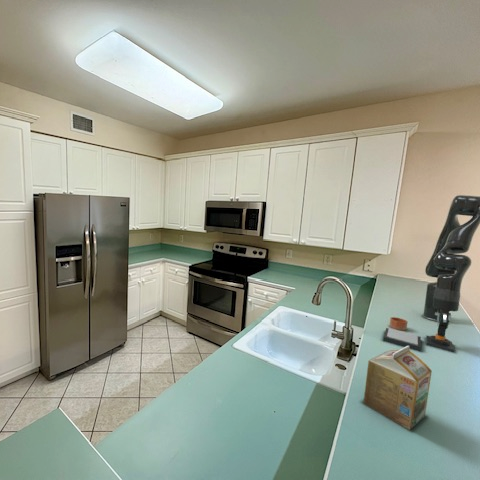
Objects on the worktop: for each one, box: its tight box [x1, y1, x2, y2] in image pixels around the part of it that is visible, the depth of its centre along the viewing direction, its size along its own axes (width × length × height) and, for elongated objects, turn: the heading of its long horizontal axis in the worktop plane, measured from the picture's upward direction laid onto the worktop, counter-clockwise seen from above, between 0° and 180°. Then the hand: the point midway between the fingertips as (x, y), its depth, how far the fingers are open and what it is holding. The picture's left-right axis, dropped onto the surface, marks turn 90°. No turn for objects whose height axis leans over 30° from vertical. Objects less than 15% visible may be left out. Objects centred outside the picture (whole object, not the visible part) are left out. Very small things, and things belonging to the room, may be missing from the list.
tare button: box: [434, 333, 447, 341], centre depth 112 cm, size 3×3×2 cm
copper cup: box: [389, 316, 408, 332], centre depth 129 cm, size 6×6×5 cm
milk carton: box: [363, 346, 433, 431], centre depth 73 cm, size 11×10×19 cm
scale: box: [382, 327, 422, 352], centre depth 116 cm, size 14×12×3 cm
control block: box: [425, 335, 455, 353], centre depth 113 cm, size 10×8×3 cm
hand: (440, 335), depth 112 cm, fingers closed
